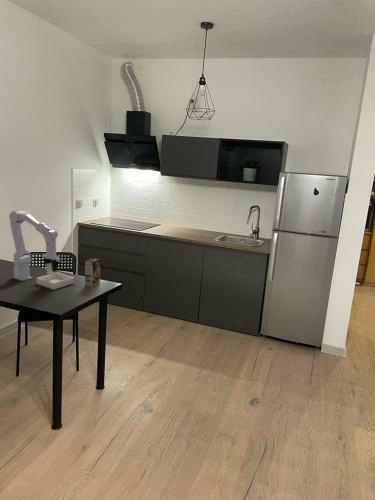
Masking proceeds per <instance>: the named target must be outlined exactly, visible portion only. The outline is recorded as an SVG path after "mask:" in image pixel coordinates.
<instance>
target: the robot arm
mask: <svg viewBox="0 0 375 500" xmlns="http://www.w3.org/2000/svg"><path fill="white" fill-rule="evenodd" d="M8 217H9V220H10V221H9V224H10V229H11V234H12V238H13V243H14V247H15V251H14V254H13V264H14V266H13V275H14V276H12V278H13V279H16V280H18V281H22V282H24V281H27V280H29V279H33V277H32V276H30V263H31V262H32V256H31V253H30V251H28V250H27V249H26V246H25V241H24V237H23V231H22V227H21V225H22V224H23V222H27V223H28V224H29V225H31V226H33V227H34V228H35V231H37V232H38V233H39V234H41V235H42V236H43V239H44V241H45V253H43V254H42V256H41V257H42V258H43V259H42V261H43V262H44V265H45V268H46V269H47V263H51V265H52V270H53V272H55V271H56V272H57V269H58V267H59V263H60V262H61V257H59V256H57V244H56V243H57V241H56V240H57V238H58V232H57V230H56V229H54V228H51V227H49V226H47V225H46V223H45V222H39V221H38V220H37V219H35V218H34V217H33V216H32V215H31V213H30V212H29V211H28V210H26V209H20V210H13V211H11V212H10V214H9V215H8Z"/></svg>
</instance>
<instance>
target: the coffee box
mask: <svg viewBox="0 0 375 500" xmlns="http://www.w3.org/2000/svg"><path fill="white" fill-rule="evenodd" d="M84 261H85V262H84V286H87V287H94V288H95V286H97V285H98V284H100V282H101V258H94V257H91V258H88V259H86V260H84Z"/></svg>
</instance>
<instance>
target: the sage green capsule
mask: <svg viewBox="0 0 375 500" xmlns="http://www.w3.org/2000/svg"><path fill="white" fill-rule="evenodd" d="M55 273H57V270H56V271H55V272H53V270H52V265H51V263H47V268H46V275H49V274H55Z"/></svg>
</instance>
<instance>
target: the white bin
mask: <svg viewBox="0 0 375 500" xmlns="http://www.w3.org/2000/svg"><path fill="white" fill-rule="evenodd" d="M36 284H37V285H39V286H41V287H45V288H47V289H51V290H53V291H55V290H58V289H61V288H64V287H68V286H70V285H74V284H75V277H74V276H72V275H67V274H64V273H62V272H57V271H56V273H55V274H46V275H41V276H38V277H36ZM67 285H68V286H67Z"/></svg>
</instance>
